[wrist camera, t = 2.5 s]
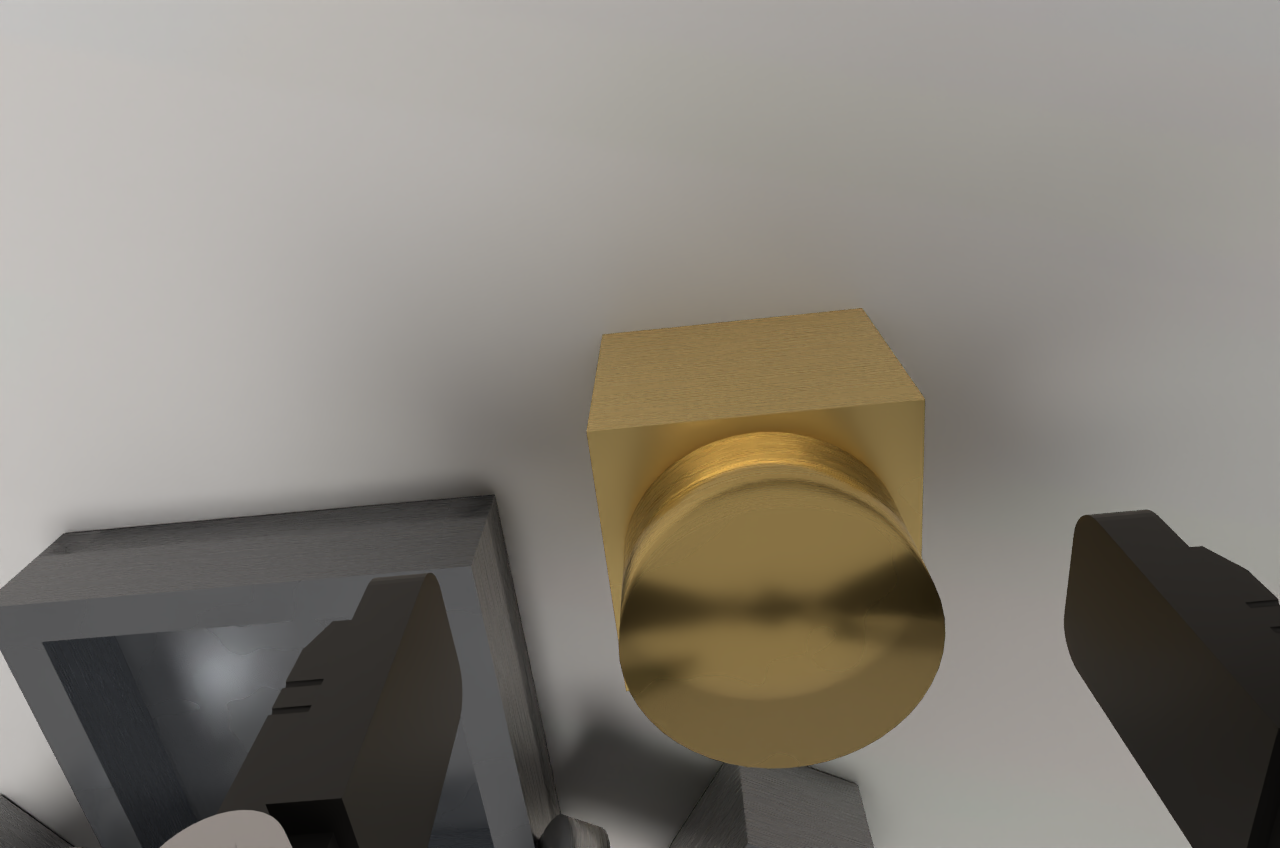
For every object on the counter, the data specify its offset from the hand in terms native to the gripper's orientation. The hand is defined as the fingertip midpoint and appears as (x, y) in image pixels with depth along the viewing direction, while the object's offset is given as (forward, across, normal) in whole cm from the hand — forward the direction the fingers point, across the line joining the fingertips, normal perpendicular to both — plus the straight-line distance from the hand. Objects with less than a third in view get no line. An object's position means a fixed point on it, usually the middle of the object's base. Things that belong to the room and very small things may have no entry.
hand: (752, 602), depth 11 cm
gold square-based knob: (+6, 0, 0) cm, 6 cm away
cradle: (+6, +9, +5) cm, 12 cm away
